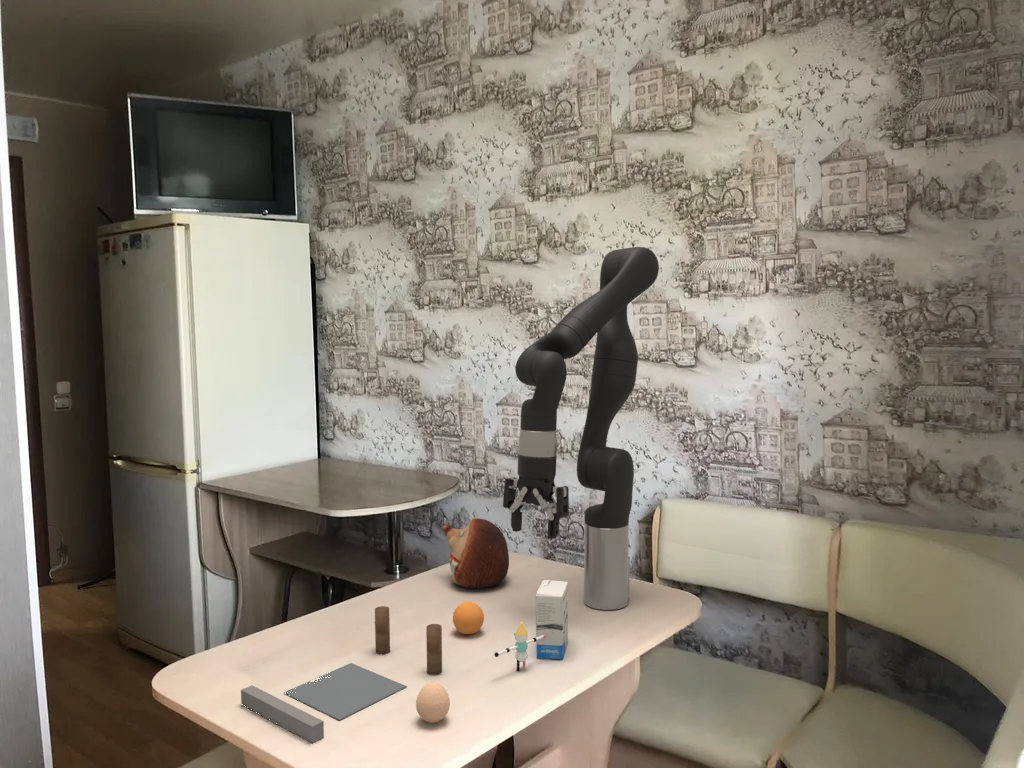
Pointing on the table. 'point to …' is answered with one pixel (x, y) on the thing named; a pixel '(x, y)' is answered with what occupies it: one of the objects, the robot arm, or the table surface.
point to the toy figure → (520, 645)
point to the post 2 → (434, 649)
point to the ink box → (552, 619)
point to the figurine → (477, 554)
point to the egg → (432, 702)
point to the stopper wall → (283, 714)
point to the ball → (468, 618)
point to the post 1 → (382, 630)
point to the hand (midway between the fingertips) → (534, 534)
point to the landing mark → (345, 691)
